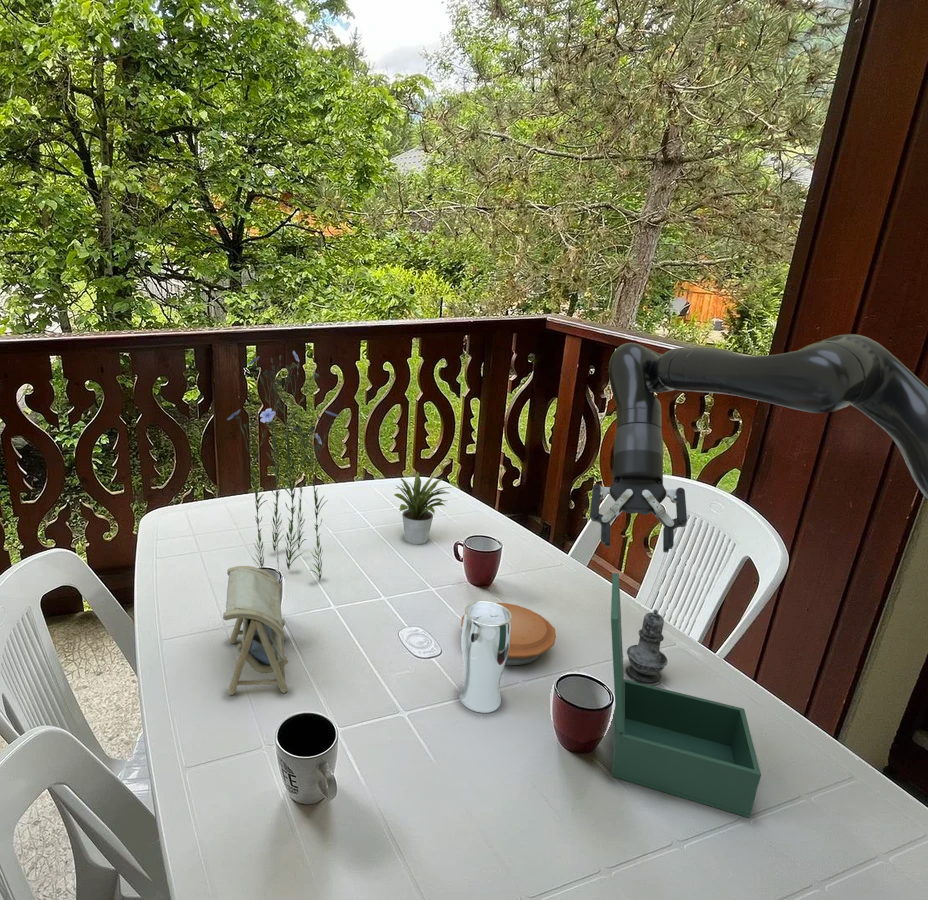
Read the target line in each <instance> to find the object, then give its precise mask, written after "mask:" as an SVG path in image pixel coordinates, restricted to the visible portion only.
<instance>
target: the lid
mask: <svg viewBox="0 0 928 900" xmlns="http://www.w3.org/2000/svg"><path fill="white" fill-rule="evenodd" d="M611 575H612V576H611V600H610V601H611V604H610V605H611V606H610V627H611V628H610V630H611V649H612V667H613V669H612V670H613V687H614V705H615V706H614V710H615V709H616V728H617V732H624V679H625V675H624V674H625V673H624V671H625V670H624V653H623V631H622V630H623V629H622V611H621V610H622V609H621V608H622V607H621V588H620V587H621V586H620V573H618V572H612V574H611Z"/></svg>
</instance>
